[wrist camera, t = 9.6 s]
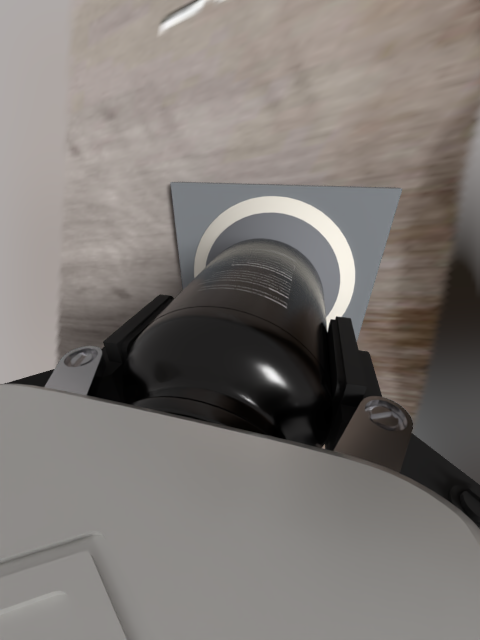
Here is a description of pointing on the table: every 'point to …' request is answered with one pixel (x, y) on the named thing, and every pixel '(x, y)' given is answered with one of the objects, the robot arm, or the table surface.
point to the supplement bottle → (241, 347)
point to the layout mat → (292, 231)
